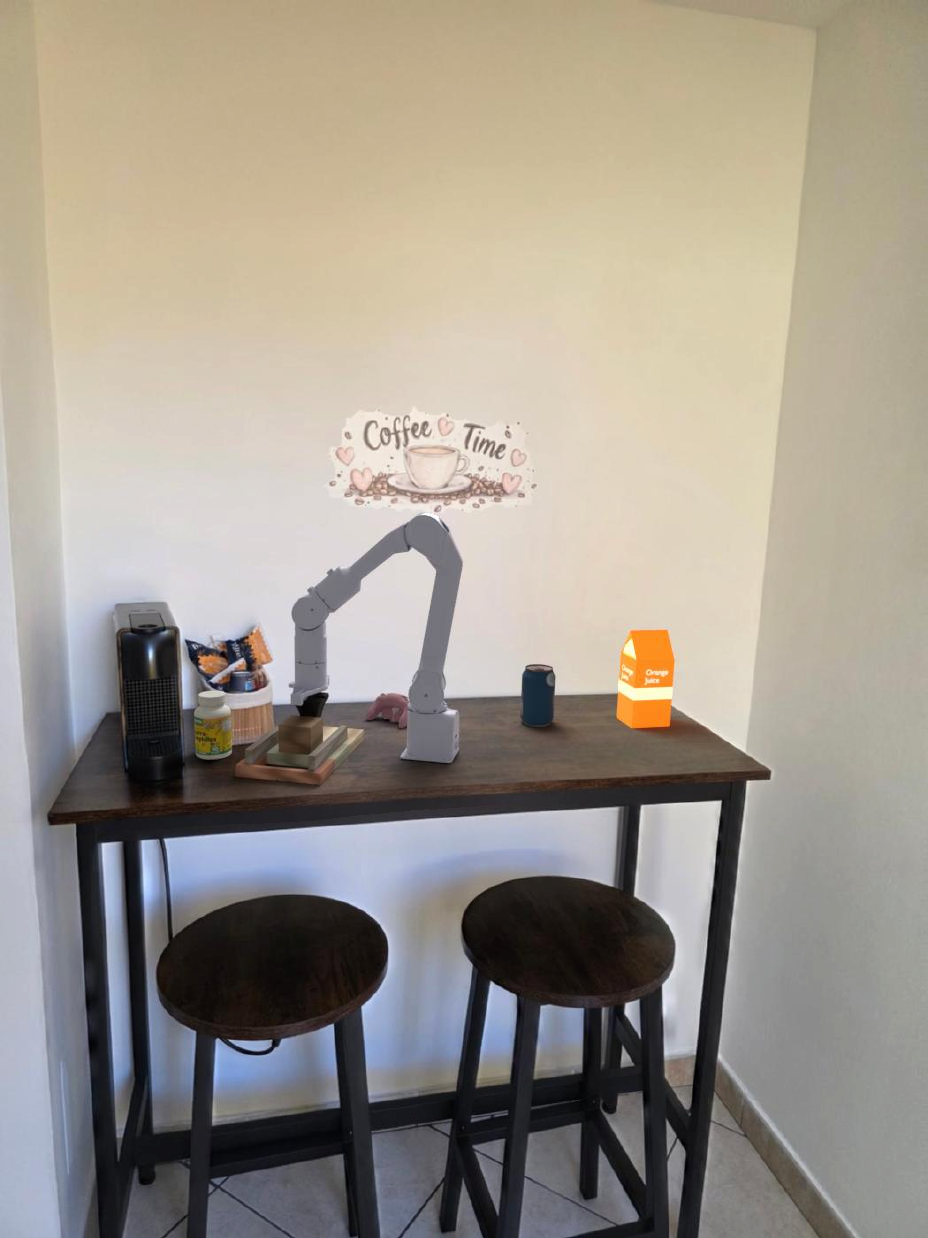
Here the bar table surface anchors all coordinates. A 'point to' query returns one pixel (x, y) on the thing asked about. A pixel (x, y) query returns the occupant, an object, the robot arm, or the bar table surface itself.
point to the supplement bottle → (212, 726)
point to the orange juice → (646, 679)
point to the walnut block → (300, 734)
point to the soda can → (537, 695)
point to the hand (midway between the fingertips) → (310, 732)
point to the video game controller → (390, 708)
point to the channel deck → (299, 757)
